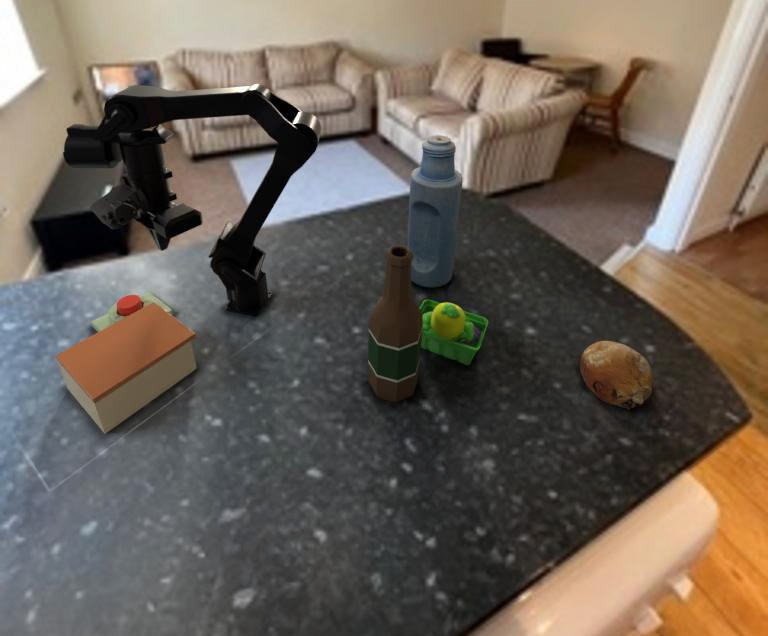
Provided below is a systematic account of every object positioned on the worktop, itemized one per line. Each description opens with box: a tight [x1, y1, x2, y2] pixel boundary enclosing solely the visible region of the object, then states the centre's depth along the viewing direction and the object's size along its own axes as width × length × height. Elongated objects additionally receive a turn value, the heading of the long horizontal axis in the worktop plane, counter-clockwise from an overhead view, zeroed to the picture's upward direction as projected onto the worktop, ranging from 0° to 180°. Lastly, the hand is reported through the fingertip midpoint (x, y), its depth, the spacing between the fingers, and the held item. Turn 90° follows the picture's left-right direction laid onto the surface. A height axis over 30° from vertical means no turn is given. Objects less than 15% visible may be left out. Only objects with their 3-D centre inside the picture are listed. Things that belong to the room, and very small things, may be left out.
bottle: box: [406, 134, 464, 289], centre depth 86 cm, size 10×10×30 cm
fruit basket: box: [419, 299, 489, 366], centre depth 72 cm, size 11×9×11 cm
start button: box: [116, 294, 142, 316], centre depth 77 cm, size 4×4×2 cm
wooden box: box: [56, 340, 198, 435], centre depth 66 cm, size 14×12×6 cm
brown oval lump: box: [579, 340, 654, 410], centre depth 69 cm, size 10×10×8 cm
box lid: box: [54, 302, 196, 403], centre depth 65 cm, size 14×12×1 cm
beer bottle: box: [367, 244, 423, 403], centre depth 63 cm, size 8×8×24 cm
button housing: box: [91, 291, 174, 333], centre depth 78 cm, size 10×8×3 cm
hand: (163, 249), depth 78 cm, fingers closed
